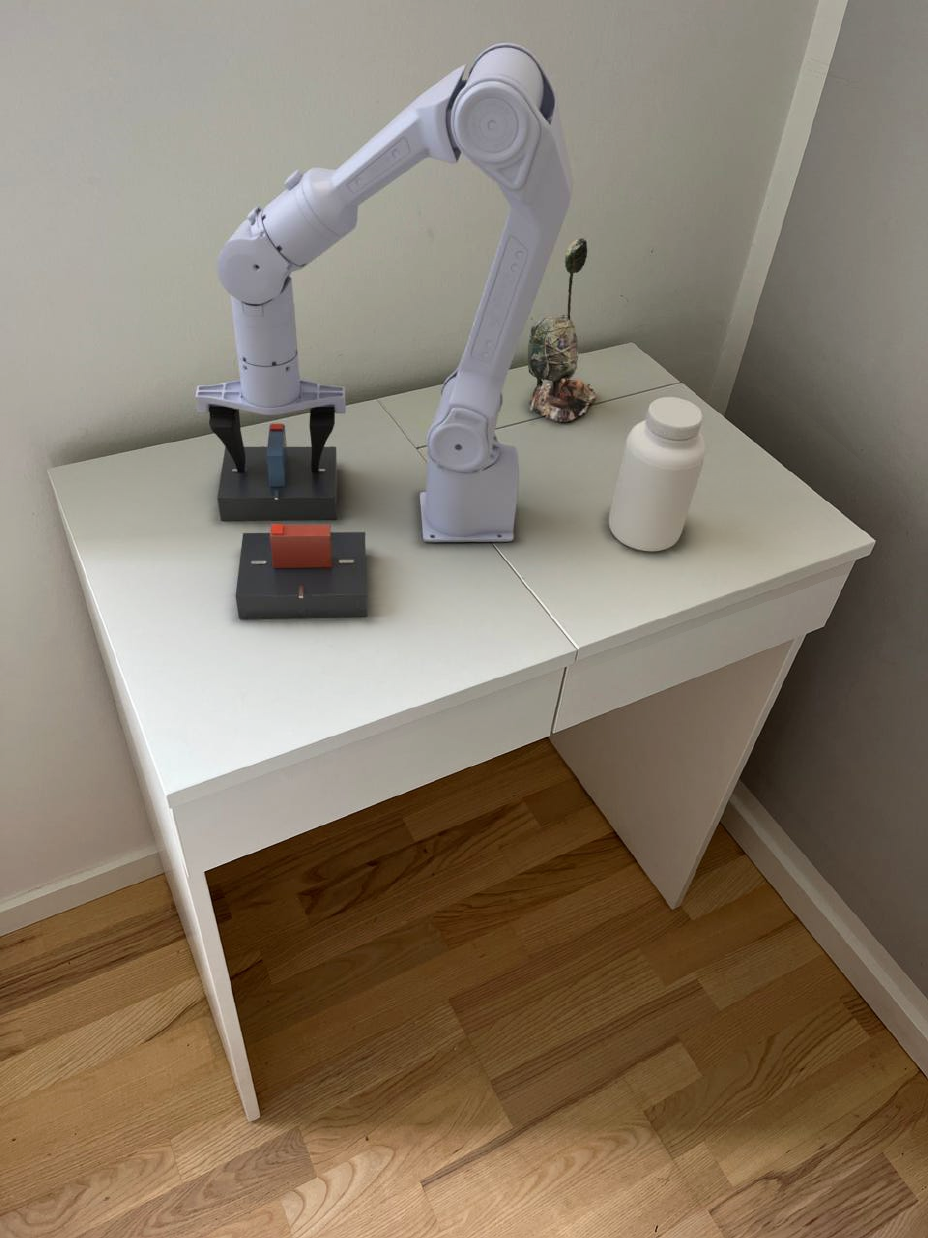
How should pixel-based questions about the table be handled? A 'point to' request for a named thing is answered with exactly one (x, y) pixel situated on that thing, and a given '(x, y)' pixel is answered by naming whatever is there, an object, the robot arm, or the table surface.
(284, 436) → the cold tap
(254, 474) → the panel
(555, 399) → the plant with pod
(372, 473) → the table surface
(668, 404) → the pill bottle
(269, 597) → the hot tap panel
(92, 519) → the table surface
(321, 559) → the block
